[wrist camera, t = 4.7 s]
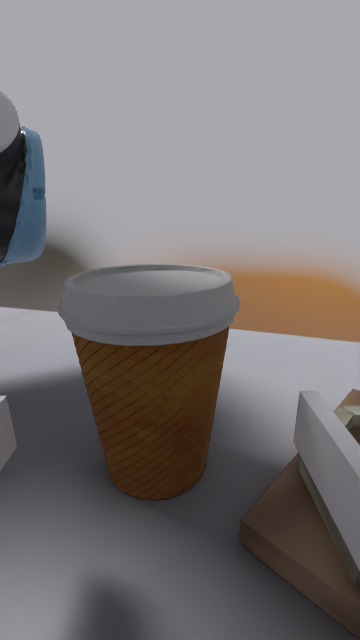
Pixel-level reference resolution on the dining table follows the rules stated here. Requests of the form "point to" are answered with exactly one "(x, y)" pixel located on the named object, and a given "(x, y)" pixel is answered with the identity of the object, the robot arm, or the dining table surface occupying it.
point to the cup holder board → (307, 535)
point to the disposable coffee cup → (151, 367)
